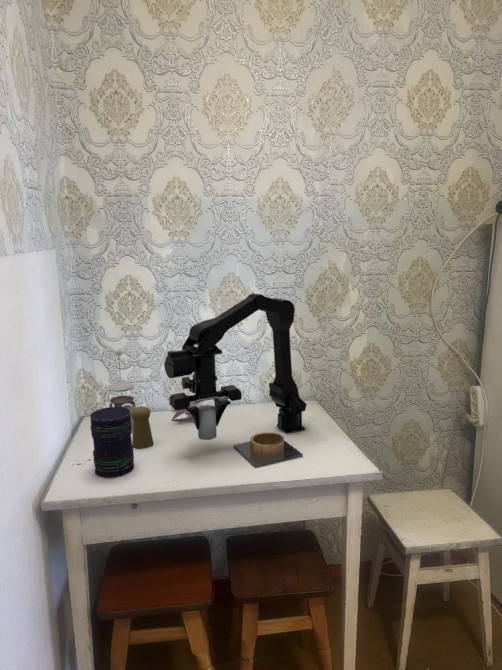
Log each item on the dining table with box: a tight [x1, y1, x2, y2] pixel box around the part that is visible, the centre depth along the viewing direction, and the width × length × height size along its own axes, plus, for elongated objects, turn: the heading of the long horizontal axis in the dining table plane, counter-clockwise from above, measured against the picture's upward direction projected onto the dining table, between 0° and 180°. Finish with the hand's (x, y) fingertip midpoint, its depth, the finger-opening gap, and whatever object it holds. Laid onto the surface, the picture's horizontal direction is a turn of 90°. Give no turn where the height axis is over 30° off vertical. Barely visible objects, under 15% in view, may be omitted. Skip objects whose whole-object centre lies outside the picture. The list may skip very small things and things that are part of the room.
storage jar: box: [89, 406, 135, 479], centre depth 127 cm, size 10×10×15 cm
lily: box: [171, 394, 203, 421], centre depth 160 cm, size 12×12×10 cm
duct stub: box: [197, 404, 217, 441], centre depth 136 cm, size 5×5×8 cm
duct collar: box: [232, 431, 304, 469], centre depth 136 cm, size 14×14×4 cm
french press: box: [103, 349, 136, 435], centre depth 153 cm, size 10×12×25 cm
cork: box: [131, 405, 155, 450], centre depth 142 cm, size 6×6×11 cm
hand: (207, 427), depth 136 cm, fingers closed on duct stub, 5 cm apart
